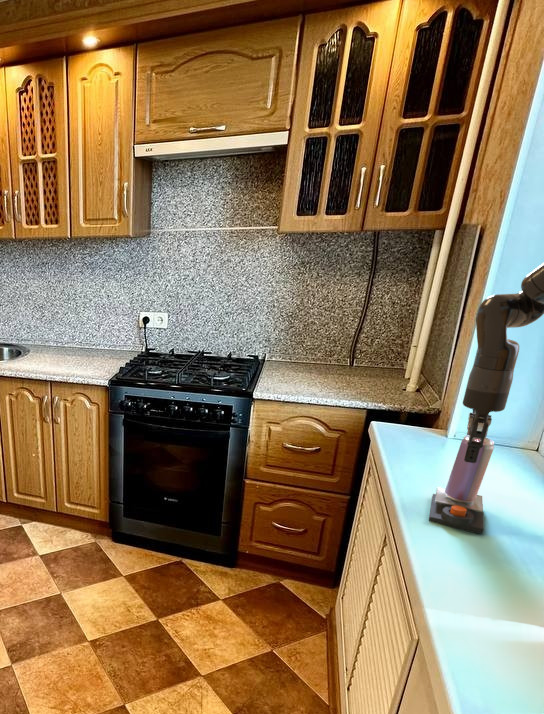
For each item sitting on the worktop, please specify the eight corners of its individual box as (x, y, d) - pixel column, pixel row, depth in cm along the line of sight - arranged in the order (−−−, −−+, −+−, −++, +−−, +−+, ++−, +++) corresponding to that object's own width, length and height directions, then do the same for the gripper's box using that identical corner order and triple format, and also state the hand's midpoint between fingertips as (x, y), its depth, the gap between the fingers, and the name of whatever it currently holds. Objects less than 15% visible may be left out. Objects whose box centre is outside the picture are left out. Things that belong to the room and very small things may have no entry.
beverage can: (450, 501, 123) (470, 443, 117) (439, 489, 128) (458, 433, 123) (479, 505, 122) (501, 446, 116) (467, 493, 127) (487, 436, 121)
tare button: (450, 510, 121) (451, 504, 121) (465, 513, 120) (466, 507, 119) (449, 515, 119) (451, 509, 119) (465, 518, 118) (466, 512, 117)
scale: (431, 498, 132) (434, 487, 131) (481, 508, 127) (484, 497, 126) (428, 523, 121) (430, 512, 120) (482, 536, 116) (485, 524, 115)
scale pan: (436, 488, 131) (437, 486, 131) (481, 497, 126) (482, 495, 126) (434, 502, 124) (435, 500, 124) (482, 512, 119) (482, 511, 119)
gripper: (511, 397, 108) (491, 471, 114) (508, 381, 119) (489, 450, 125) (466, 392, 112) (449, 464, 118) (467, 377, 123) (450, 444, 129)
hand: (469, 456), depth 121 cm, fingers closed on beverage can, 6 cm apart
